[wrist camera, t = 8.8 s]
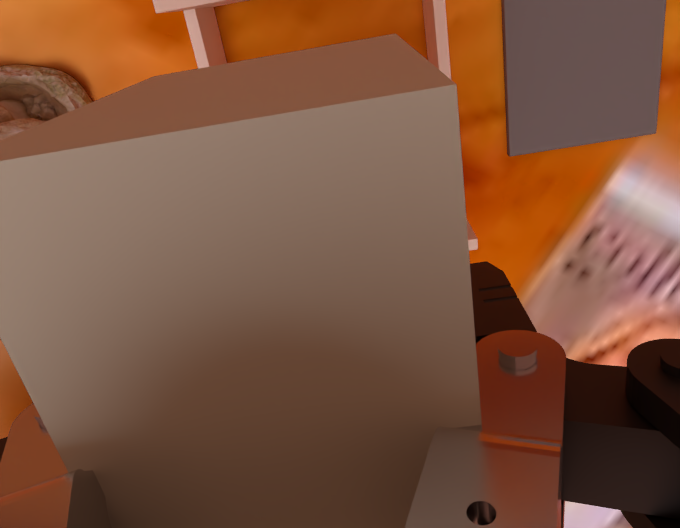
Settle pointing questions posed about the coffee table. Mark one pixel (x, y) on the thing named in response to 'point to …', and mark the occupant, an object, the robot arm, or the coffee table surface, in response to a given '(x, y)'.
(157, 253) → the box
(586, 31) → the mat
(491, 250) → the coffee table surface
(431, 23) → the carton
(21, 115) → the ceramic model
